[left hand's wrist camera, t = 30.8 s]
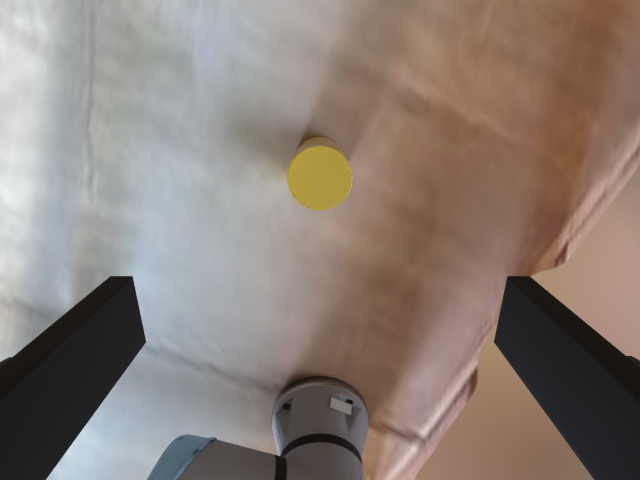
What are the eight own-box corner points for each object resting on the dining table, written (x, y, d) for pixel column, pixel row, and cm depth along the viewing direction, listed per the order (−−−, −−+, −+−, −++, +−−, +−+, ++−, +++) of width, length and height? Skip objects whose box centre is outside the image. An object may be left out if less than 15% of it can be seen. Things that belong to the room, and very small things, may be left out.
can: (356, 162, 44) (365, 177, 35) (320, 198, 46) (321, 222, 36) (318, 125, 42) (318, 131, 33) (283, 164, 44) (273, 180, 35)
